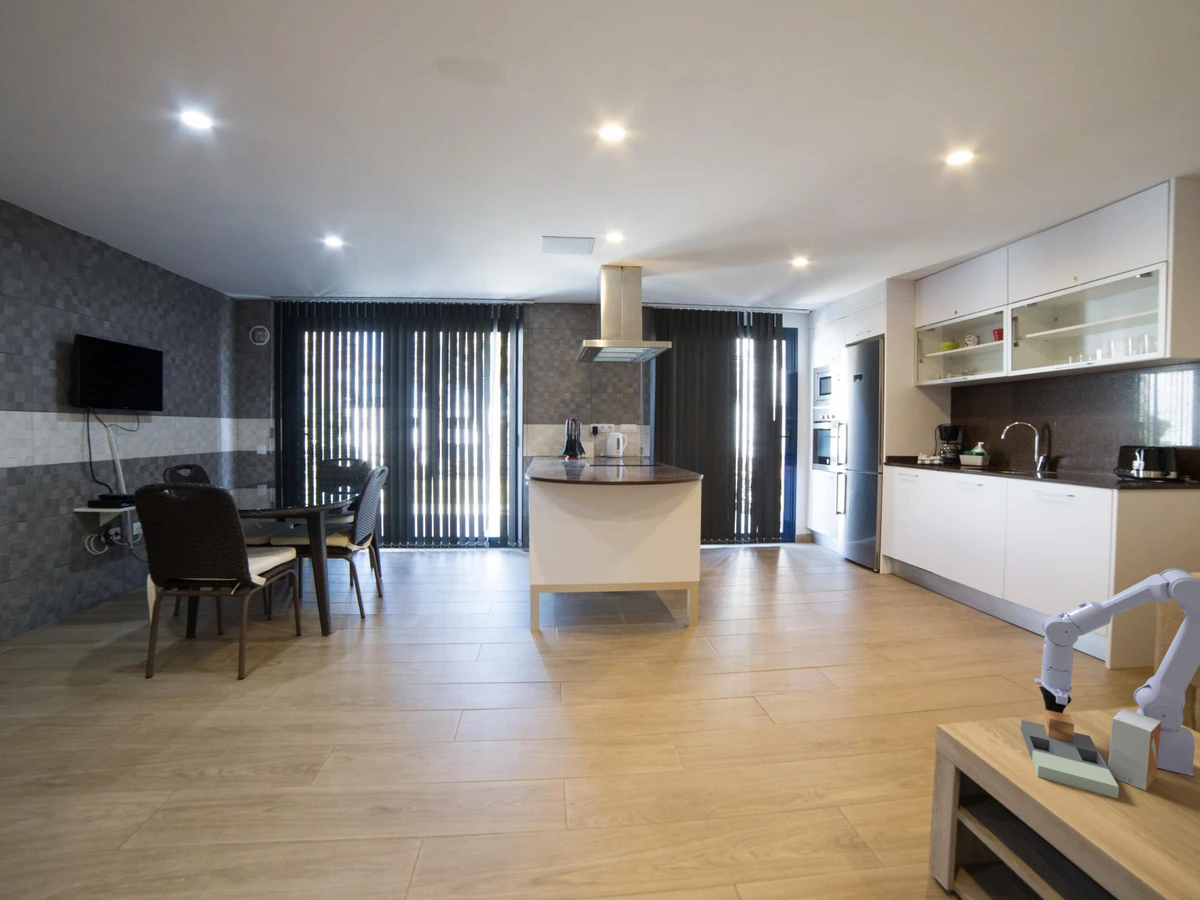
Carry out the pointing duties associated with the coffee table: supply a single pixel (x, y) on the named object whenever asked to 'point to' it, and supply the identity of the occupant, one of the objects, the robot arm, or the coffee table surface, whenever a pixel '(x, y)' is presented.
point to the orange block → (1059, 726)
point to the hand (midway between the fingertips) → (1052, 719)
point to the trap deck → (1068, 760)
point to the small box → (1134, 748)
